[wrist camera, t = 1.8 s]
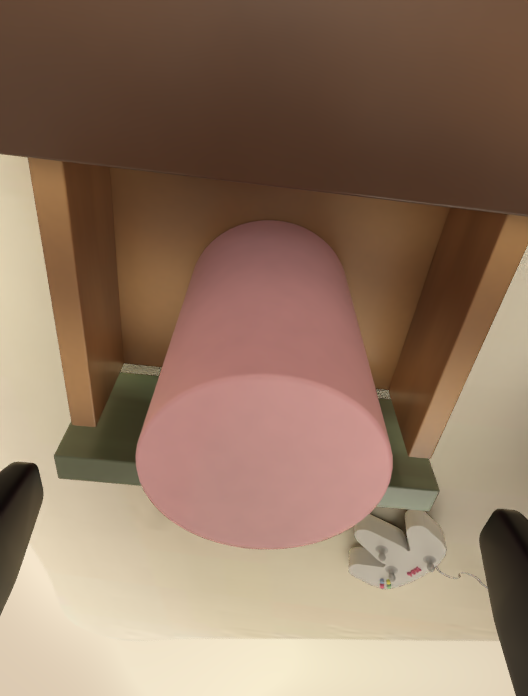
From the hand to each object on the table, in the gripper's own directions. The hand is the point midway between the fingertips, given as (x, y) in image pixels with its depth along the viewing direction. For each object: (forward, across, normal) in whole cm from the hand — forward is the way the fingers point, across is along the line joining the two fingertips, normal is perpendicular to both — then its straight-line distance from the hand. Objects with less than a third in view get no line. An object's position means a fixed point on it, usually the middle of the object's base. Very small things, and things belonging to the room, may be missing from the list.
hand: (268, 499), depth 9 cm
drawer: (+10, 0, 0) cm, 10 cm away
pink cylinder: (+9, 0, 0) cm, 9 cm away
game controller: (+11, -12, +17) cm, 24 cm away
